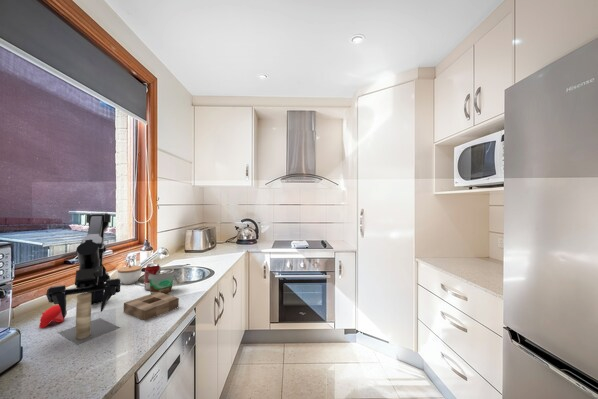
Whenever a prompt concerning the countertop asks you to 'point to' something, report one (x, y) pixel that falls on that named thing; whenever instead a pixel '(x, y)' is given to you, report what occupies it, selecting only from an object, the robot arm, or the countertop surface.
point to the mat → (96, 330)
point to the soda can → (152, 270)
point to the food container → (161, 282)
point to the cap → (51, 316)
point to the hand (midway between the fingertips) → (83, 314)
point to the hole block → (151, 305)
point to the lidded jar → (129, 274)
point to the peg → (83, 316)
